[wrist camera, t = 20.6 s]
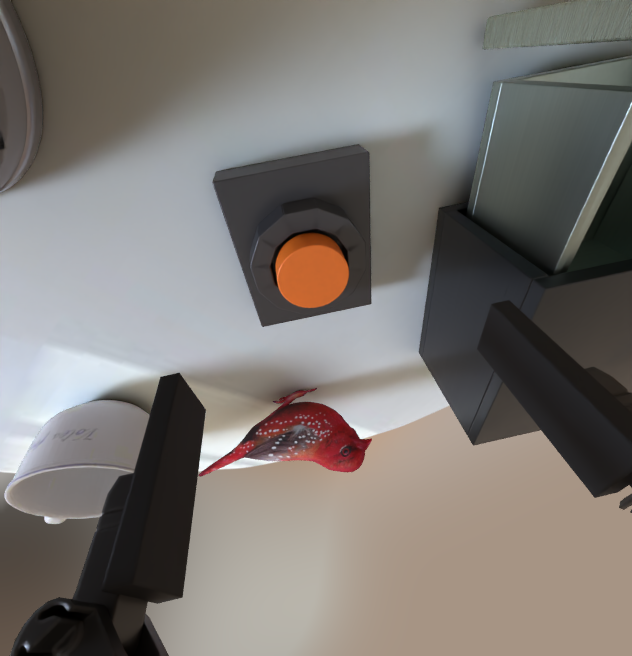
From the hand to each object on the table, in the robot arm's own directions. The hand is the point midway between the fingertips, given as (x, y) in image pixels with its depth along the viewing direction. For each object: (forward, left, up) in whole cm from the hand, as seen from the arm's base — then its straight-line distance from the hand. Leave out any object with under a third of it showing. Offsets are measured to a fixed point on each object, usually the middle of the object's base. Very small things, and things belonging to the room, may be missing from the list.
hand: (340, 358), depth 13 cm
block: (0, 0, -12) cm, 12 cm away
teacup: (+16, -24, -12) cm, 32 cm away
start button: (0, 0, -8) cm, 8 cm away
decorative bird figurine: (+18, -6, -12) cm, 23 cm away
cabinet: (+8, +17, -12) cm, 23 cm away
